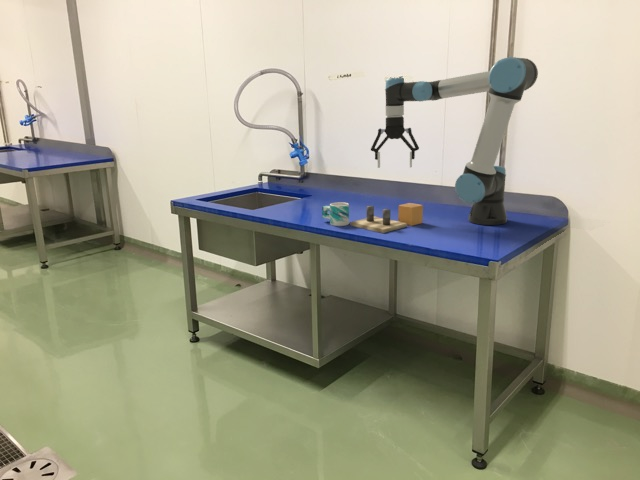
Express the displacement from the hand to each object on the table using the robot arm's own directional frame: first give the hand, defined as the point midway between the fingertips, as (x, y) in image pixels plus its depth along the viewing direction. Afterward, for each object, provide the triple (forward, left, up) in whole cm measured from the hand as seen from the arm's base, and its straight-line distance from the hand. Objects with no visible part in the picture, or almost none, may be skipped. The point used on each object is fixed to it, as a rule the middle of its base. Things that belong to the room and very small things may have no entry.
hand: (394, 167), depth 229 cm
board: (-8, +18, -21) cm, 29 cm away
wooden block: (-14, +5, -21) cm, 26 cm away
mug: (+9, +26, -22) cm, 35 cm away
